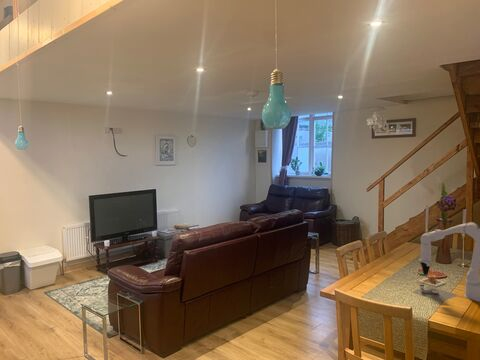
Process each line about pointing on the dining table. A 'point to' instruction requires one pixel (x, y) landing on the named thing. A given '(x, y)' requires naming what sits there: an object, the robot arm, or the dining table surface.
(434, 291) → the crank
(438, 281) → the tray
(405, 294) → the dining table surface
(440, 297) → the crank base
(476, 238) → the robot arm
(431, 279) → the block
